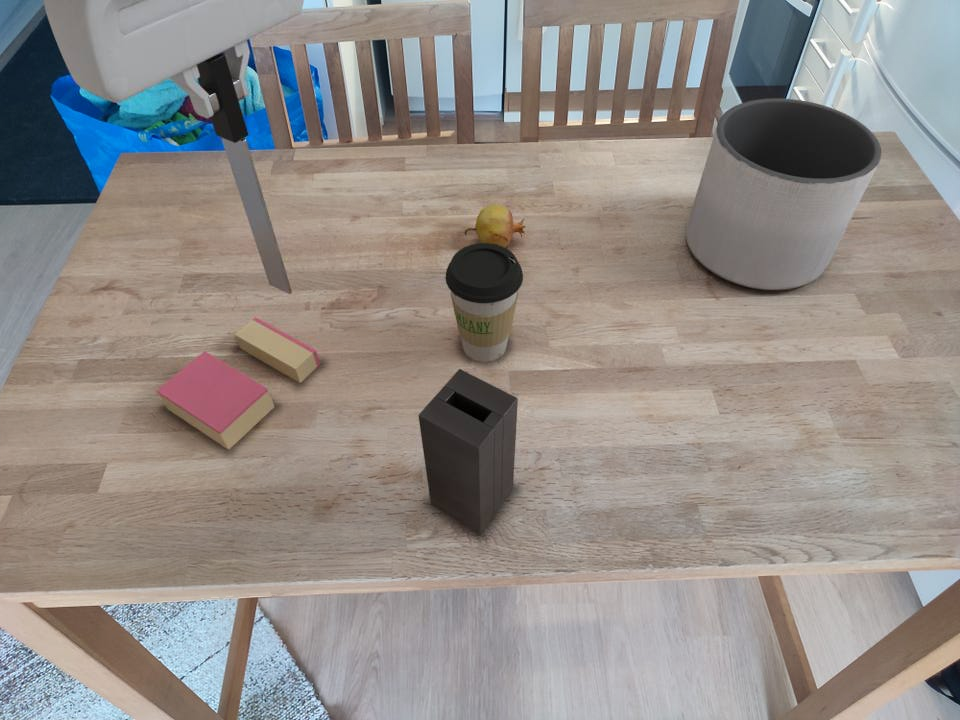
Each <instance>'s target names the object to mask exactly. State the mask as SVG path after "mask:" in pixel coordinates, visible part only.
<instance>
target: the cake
mask: <svg viewBox="0 0 960 720" xmlns="http://www.w3.org/2000/svg"><path fill="white" fill-rule="evenodd" d="M155 392H156V393H157V395H158V396H159V398H160V400H161V401H162V403H163V405H164V407H166V409H167V410H168V411H170V413H172V414H174V415H176V416H177V417H179V418H180V419H181V420H183V421H185V422H186V423H187V424H189V425H191V426H192V427H194V428H195V429H197V430H198V431H199V432H201V433H202V434H204V435H205V436H207V437H208V438H210V439H211V440H213V441H214V442H216V443H218V444H219V445H220V446H222V447H224V448H225V449H226V450H231V449H232V448H233V447H234V446H235V445H236V444H237V443H238V442H239V441H240V440H242V438H243V437H245V435H246V434H247V433H249V432H250V431H251V430H252V429H253V428H254V427H255V426H256V425H257V424H258V423H259V422H260V421H262V419H264V417H266V416H267V415H268V414H269V413H270V412H271V411H272V410H274V408H275V404H274V401H273V399H272V396H271V394H270V392H269V389H268V388H267V387H266V386H264V385H263V384H261V383H260V382H257V381H256V380H254V379H252V378H251V377H249V376H247V374H246V375H245V374H244V373H242V372H241V371H239V370H237V369H236V368H234V367H232V366H231V365H229V364H227V363H226V362H224V361H223V360H221V359H219V358H217V357H215V356H214V355H212V354H211V353H209V352H207V351H206V350H204V351H203V352H201V353H200V354H199V355H198V356H197V357H195V358H194V359H193V360H192V361H190V362H189V363H188V364H187V365H185V366H184V367H183V368H182V369H181V370H180V371H178V372H177V373H176V374H175V375H173V376H172V377H170V378H169V379H168V380H167V381H166V382H165V383H163V384H162V385H161V386H159V388H157V389H156V391H155Z"/></svg>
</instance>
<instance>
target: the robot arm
mask: <svg viewBox="0 0 960 720" xmlns="http://www.w3.org/2000/svg"><path fill="white" fill-rule="evenodd" d="M304 2H305V0H43V6H44V9H45V13H46V17H47V20H48V23H49V25H50V28H51V32H52V34H53V36H54V40H55V41H56V43H57V47H58V49H59V52H60V54H61V56H62V58H63V61H64V63H65V65H66V68H67V70H68V72H69V74H70V75H71V77H72V79H73V81H74V82H75V84H76V85H78V86H79V87H80V88H81V89H82V90H84V91H86V92H87V93H89V94H91V95H94V96H96V97H98V98H100V99H103V100H106V101H109V102H112V103H116V104H119V103H122V102H124V101H126V100H128V99H130V98H132V97H134V96H136V95H138V94H140V93H142V92H144V91H147V90H148V89H150V88H153V87H155V86H157V85H159V84H160V83H163V82H165V81H167V80H168V79H170V80H171V81H172V82H173V83H174V84H175V85H177V87H178V88H180V89H181V90H182V91H183V92H185V94H187V95H188V97H189V99H190V102H191V104H192V108H193V110H194V112H195V114H197V116H200V117H202V118H205V119H211V118H210V117H212V116H214V115H215V114H217V113H219V112H220V111H222V106H221V104H220V103H219V97H218V94H217V92H216V91H213V90H208V89H207V88H205V87H201V86H200V85H199V82H198V81H196V80H198V79H197V78H199V77H200V74H199V71H198V68H197V64H199V63H201V62H203V61H205V60H207V59H209V58H211V57H213V56H215V55H217V54H219V53H221V54H224V55H225V56H226V60H227V63H228V67H229V70H230V73H231V77H232V80H233V84H234V87H235V90H236V94H237V97H238V101H239V102H241V101H242V100H243V99H246V98H247V97H249V96H250V93H249V89H248V84H247V81H246V75H247V70H248V64H249V60H250V54H251V51H250V47H249V44H248V40H250V39H251V38H254V37H256V36H258V35H260V34H262V33H264V32H266V31H268V30H271V29H272V28H274V27H276V26H279V25H280V24H283V23H284V22H287V21H289V20H291V19H293V18H294V17H296V16H299V15H300V14H301V13H302V10H303V6H304Z"/></svg>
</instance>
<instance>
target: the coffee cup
mask: <svg viewBox="0 0 960 720" xmlns="http://www.w3.org/2000/svg"><path fill="white" fill-rule="evenodd" d="M445 270H446V271H445V277H444V279H445V283H446V285H447V288H448V289H449V291H450V298H451V302H452V307H453V312H454V317H455V321H456V325H457V331H458V333H459V336H460V339H461V344H462V349H463V351H464V353H465V355H466V356H467V357H468V358H469V359H471V360H473V361H476V362H481V363H483V362H484V363H487V362H493V361H497V360H498V359H499V358H501V357H502V356H503V355H504V354H505V352H506V351H507V345H508V341H509V336H510V334H511V331H512V326H513V322H514V316H515V312H516V307H517V303H518V297H519V290H520V288H521V287H522V284H523V281H524V273H523V269H522V266H521V264H520V262H519V261H518V259H517V257H516V255H515V253H513V252H512V251H511V250H509V249H508V248H507V247H506V248H505V247H503V246H500V245H497V244H491V243H481V242H477V243H473V244H469V245H466V246H464V247H462V248H460V249H459V250H458V251H457V252H455V253H454V255H453V256H452V258H451V260H450V262H449V263H448V265H447V268H446V269H445Z"/></svg>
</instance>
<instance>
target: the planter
mask: <svg viewBox="0 0 960 720" xmlns="http://www.w3.org/2000/svg"><path fill="white" fill-rule="evenodd" d="M881 159H882V147H881V144H880V142H879V140H878V138H877V137H876V135H875V134H874V132H872V131H871V130H870V129H869V128H868V127H867V126H866V125H864V124H863V123H862V122H861V121H859V120H857V119H856V118H854V117H852V116H851V115H849V114H846V113H845V112H843V111H840V110H838V109H835V108H833V107H831V106H827V105H823V104H819V103H816V102H812V101H808V100H802V99H794V98H779V97H777V98H775V97H773V98H762V99H761V98H759V99H754V100H747V101H746V102H745V101H744V102H741V103H739V104H737V105H734V106H732V107H731V108H729V109H728V110H726V111H725V112H723V114H722V115H721V116H720V118H719V119H718V121H717V124H716V127H715V131H714V134H713V138H712V141H711V144H710V147H709V151H708V155H707V158H706V161H705V165H704V168H703V171H702V174H701V177H700V180H699V184H698V186H697V187H698V188H697V191H696V193H695V197H694V201H693V204H692V206H691V210H690V213H689V217H688V220H687V224H686V231H685V233H686V234H685V238H686V243H687V246H688V248H689V251H690V252H691V254H692V255H693V257H694V258H695V259H696V260H697V261H698V262H699V263H700V264H701V265H702V266H703V267H704V268H706V270H708V271H710V272H711V273H713V274H714V275H716V276H717V277H719V278H720V279H723V280H725V281H726V282H730V283H732V284H735V285H738V286H741V287H744V288H749V289H753V290H761V291H785V290H792V289H797V288H800V287H803V286H806V285H808V284H810V283H812V282H814V281H816V280H817V279H818V278H819V277H821V275H822V274H823V273H824V272H825V270H826V269H827V267H828V266H829V264H830V262H831V261H832V259H833V257H834V255H835V253H836V251H837V249H838V247H839V244H840V243H841V240H842V239H843V236H844V234H845V232H846V231H847V228H848V226H849V224H850V222H851V220H852V218H853V216H854V214H855V212H856V210H857V208H858V206H859V204H860V202H861V200H862V198H863V196H864V194H865V191H866V190H867V188H868V186H869V184H870V182H871V180H872V179H873V176H874V174H875V172H876V170H877V168H878V166H879V164H880V162H881Z"/></svg>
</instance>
